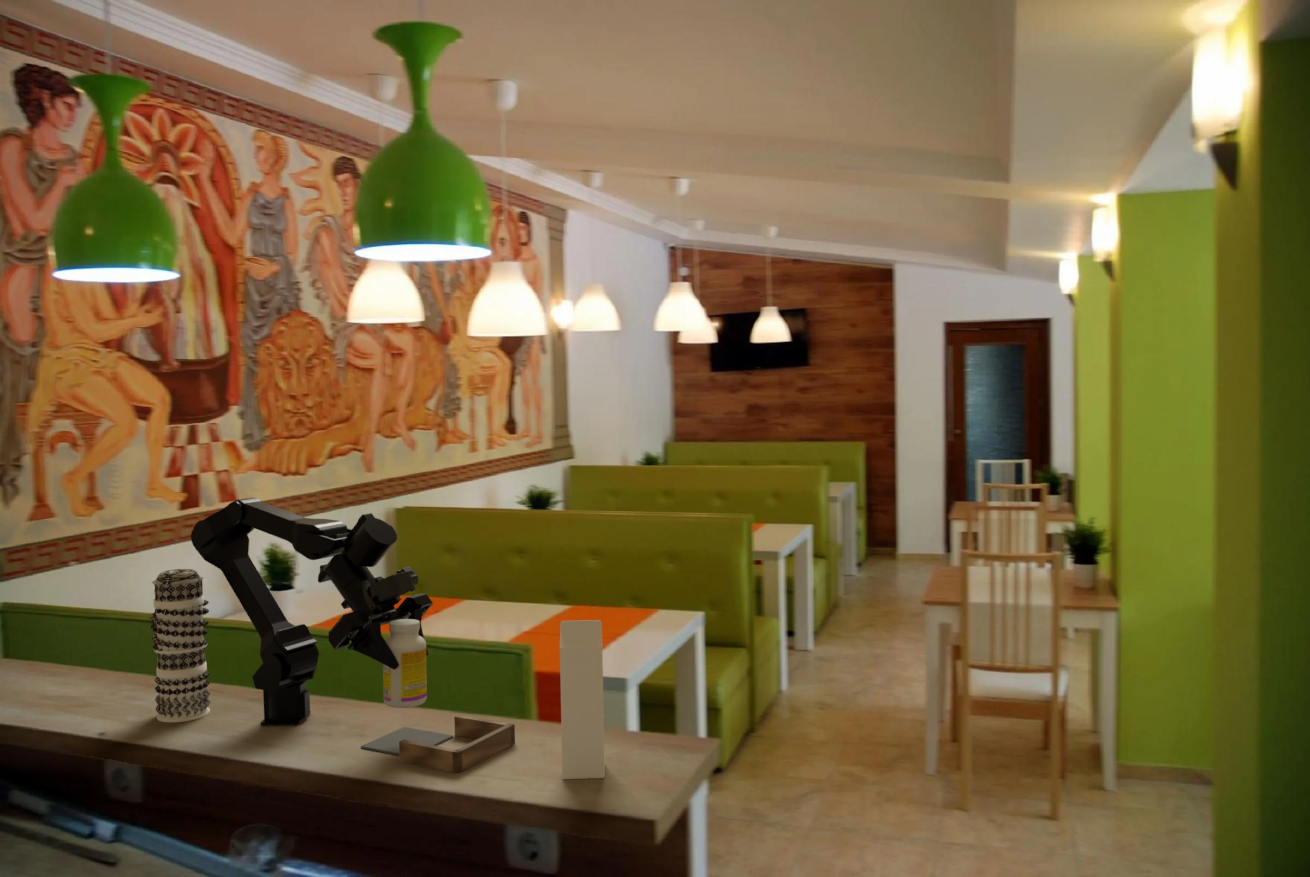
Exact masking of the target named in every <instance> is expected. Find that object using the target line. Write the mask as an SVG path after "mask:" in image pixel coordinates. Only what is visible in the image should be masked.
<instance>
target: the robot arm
mask: <svg viewBox="0 0 1310 877" xmlns="http://www.w3.org/2000/svg"><path fill="white" fill-rule="evenodd" d="M255 529H256V530H258V531H261V532H263V533H266V534H268V535H272V536H273V537H276V538H278V539H281V540H283V541H286V542H289V543H290V544H291V545H292V548H293V549H294V550H295V552H297V554H300V555H302V556H303V557H304V558H306V559H308V560H310V561H318V560H321V559H326V558H330V557H331V559H330V560H329V561H328V563H327V564H321V565H320V566H319V573H318V577H317V582H318V583H320V584H321V583H325V582H329V581H331V582H332V584H333V585H334V587H335V588H336V590H337V591H338V592H339V594H340V596H341V597H342V598H343V601H342V602H341V604H340V605H341V607H342V608H343V609H344V610H346V609H351V611H352V612H349V613H345V614H343V615H342V616H341V617H340V618H339V619H338V620H337V621H336V623H335V624H334V625H333V627H332V628H331V629H330V630H329V631H328V632H327V633H328V642H329V644H330V645H331V647H332V648H333V650H334V651H336V650H340V649H343V648H346V647H347V650H348V651H355V652H357V653H360V654H362V655H365V656H367V657H369V658H371V659H373V660H375V661H376V662H379V663H381V665H383V664H384V665H386V666H388V667H390V668H392V669H396V668H397V667H398V666H399V664H398V662H397V660H396V658H395V656H394V654H393V653H392V651H391V650H390V648H389V646H388V645H387V643H386V642H385V640H386V639H385V638H384V637H383V635H382V626H383V625H384V626H385V625H389V623H390V622H391V621H394V620H399V619H415V620H419V621H420V629H419V631H418V634H419V636H421V637H423V638H424V639H425V636H424V633H423V627H422V618H423V616H424V615H425V614H426V613H427V611H429V610H430V608H432V607H433V605H434V603H433V601H432V599H430V597H429V596H428V595H427V593H417V594H413V595H410V596H407V597H405V598H404V600H403V601H402V602H401V603H400V601H401V600H402V598H401V596H403V595H404V594H407V593H408V592H413V591H416V590H417V589H416V587H415V586H416V585H418V583H419V576H418V575H417V573H416V572H415V571H414V569H413V568H412V567H411V566H406V567H403V568H401V569H400V570H397V571H396V573H395V574H392V575H389V576H387V577H383V576H377V577H375V576H374V575H373V573H372V572H371V571H370V569H369V568H372V567H375V566H377V565H378V563H379V562H380V561H381V560H382V559H383V558H384V556H385V555H386V554H387V553H388V551H389V550H390V549H391V548H392V546H393V545H394V544H395V543H396V542H397V541H398V535H397V532H396V530H395V528H394V527H393V526H392V525H390V524H388V523H387V522H386V521H384V520H382V519H380V518H377V517H375V516H374V515H373V513H365V514H364V513H363V514H361V516H360V517H359V518H358V519H357V522H356V523H355V525H354V526H353V527H352V528H349V527H348V526H347V525H346V523H345V522H343V521H341V520H337V519H329V518H308V517H304V516H302V515H299V514H297V513H294V512H292V511H289V510H286V509H283V508H281V507H277V506H276V505H275V506H274V505H272V504H269V503H267V502H264V501H262V500H261V499H260V498H257V497H247V498H241V499H240V498H239V499H234V500H233V501H231V502H230V503H228V504H227V505H226V506H225V507H224V508H222V509H220V510H218V511H216V512H214V513H213V514H210V515H209V516H207V517H206V518H204V519H202V520H199V521H197V522H196V523H195V524H194V526H193V529H192V531H191V534H190V541H191V543H192V546H193V547H194V549H195V550H196V551H197V553H198V554H199V555H200V556H201V557H202V559H203V560H204V561H205V562H207V563H208V564H211V565H213V566H214V567H215V568H217V569H219V570H221V572H222V574H223V576H224V577H225V579H226V581H227V583H228V585H229V586H230V588H231V590H232V591H233V592H234V594H235V597H237V599H238V602H239V603H240V605H241V606H242V608H243V609H244V611H245V613H246V614H247V617H248V618H249V620H250V622H251V623H252V625H253V626H254V629H255V631H256V632H257V633H258V635H259V637H260V648H259V649H260V650H259V651H260V652H259V657H260V659H261V661H262V664H261V665H260V666H259V667H258V669H257V670H256V671H255V673H253V675H252V681H253V685H254V688H255V689H256V690H260V691H261V690H262V692H263V693H262V695H263V696H262V698H263V717H264V718H263V719H262V720H261V721H260V722H259V724H260V726H298V725H300V724H301V723H302V722H303V721H304V720H305V719H306V718H308V716H309V715H311V712H312V711H311V701H310V700H311V699H310V698H311V697H310V695H311V694H310V690H309V689H307V681H308V680H310V681H311V680H314V677H315V676H314V675H315V673H316V669H317V664H318V662H319V656H320V652H319V649H318V646H317V645H316V644H318V641H317V640H316V639H315V638H314V637H313V636H312V634H311V632H310V630H309V627H308V626H307V625H306V624H305V623H301V624H298V625H294V624H293V623H291V622H289V620H288V619H287V618H286V616H285V614H284V612H283V611H282V609H281V607H280V606H279V604H278V603H277V601H276V599H275V597H274V595H273V593H272V592H271V590H270V589H269V587H268V586H267V584H266V582H265V581H264V579H263V577H262V576H261V574H260V572H259V571H258V569H257V568H256V565H255V564H254V563H253V560H252V559H251V558H250V555H249V551H250V550H249V549H250V538H249V534H250V533H252V531H254V530H255ZM399 603H400V605H399V606H397V608H396V607H395V605H397V604H399ZM350 642H351V643H350ZM428 656H429V650H428V647H427V646H426V658H427V657H428Z"/></svg>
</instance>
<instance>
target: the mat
mask: <svg viewBox="0 0 1310 877" xmlns="http://www.w3.org/2000/svg"><path fill="white" fill-rule="evenodd" d="M453 738H454V736H453V735H451V734H447V733H441V732H437V731H436V732H435V731H429V730H423V729H418V728H414V727H407V726H403V727H401V728H399V729H396V730H394V731H391V732H390V733H388V734H385V735H383V736H380V737H378V738H376V739H373V740H371V741H369V742H367V743H365V744H362V745H360V748H361V749H363V750H364V749H365V750H369V751H370V750H371V751H374V752H378V753H379V752H380V753H384V754H390V755H395V756H400V752H399V742H400V741H402V740H408V741H414V742H419V743H424V744H430V745H435V746H439V745H440V744H443V743H444V742H446V741H449V740H450V739H453Z"/></svg>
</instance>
